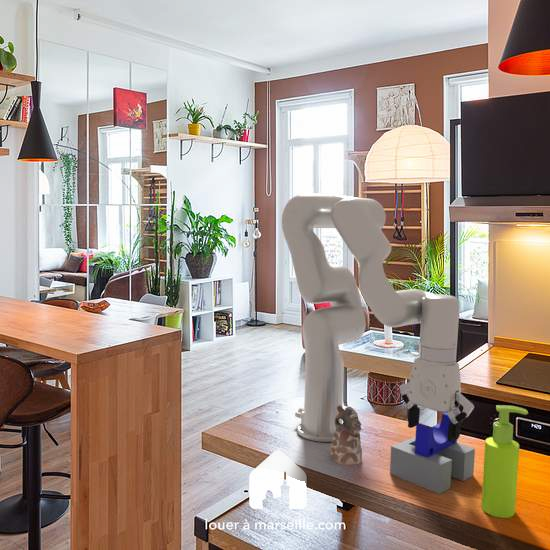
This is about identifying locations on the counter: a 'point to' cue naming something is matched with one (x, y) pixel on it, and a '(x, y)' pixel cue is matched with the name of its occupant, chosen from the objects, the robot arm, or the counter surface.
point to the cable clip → (432, 437)
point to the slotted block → (432, 465)
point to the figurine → (346, 438)
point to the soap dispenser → (501, 466)
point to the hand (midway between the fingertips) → (432, 433)
